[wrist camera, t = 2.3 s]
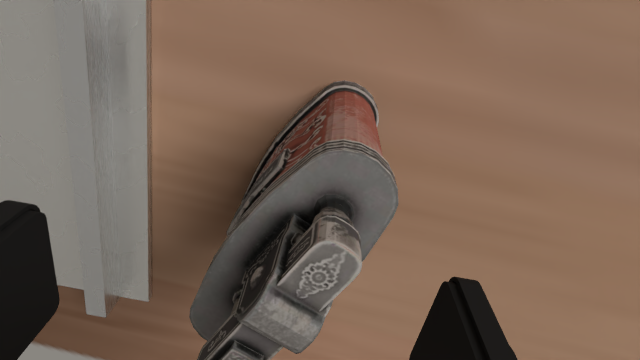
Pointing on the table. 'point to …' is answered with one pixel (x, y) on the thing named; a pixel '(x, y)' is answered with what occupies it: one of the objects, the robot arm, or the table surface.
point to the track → (82, 137)
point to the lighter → (298, 230)
